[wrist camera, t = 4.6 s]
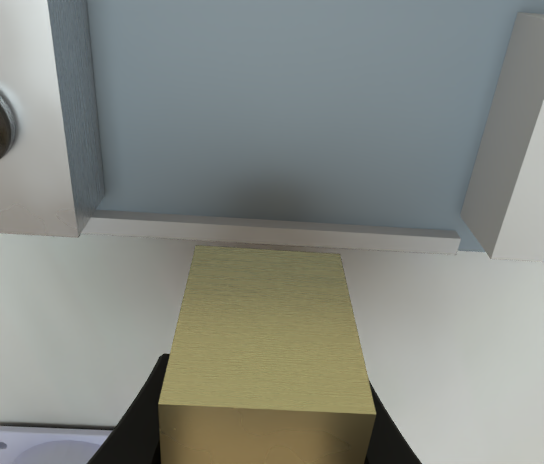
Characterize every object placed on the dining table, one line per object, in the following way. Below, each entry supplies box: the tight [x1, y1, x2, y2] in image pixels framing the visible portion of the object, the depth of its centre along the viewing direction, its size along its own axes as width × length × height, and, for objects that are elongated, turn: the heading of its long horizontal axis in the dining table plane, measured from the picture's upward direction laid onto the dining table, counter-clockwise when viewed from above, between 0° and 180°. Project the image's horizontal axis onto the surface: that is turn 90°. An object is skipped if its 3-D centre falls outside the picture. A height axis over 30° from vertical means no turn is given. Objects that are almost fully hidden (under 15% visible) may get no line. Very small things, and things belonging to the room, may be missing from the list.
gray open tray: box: [81, 0, 544, 262], centre depth 16 cm, size 10×22×4 cm, turn 86°
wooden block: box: [158, 245, 376, 464], centre depth 12 cm, size 6×4×5 cm, turn 176°
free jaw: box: [0, 0, 105, 237], centre depth 15 cm, size 7×4×4 cm, turn 176°
